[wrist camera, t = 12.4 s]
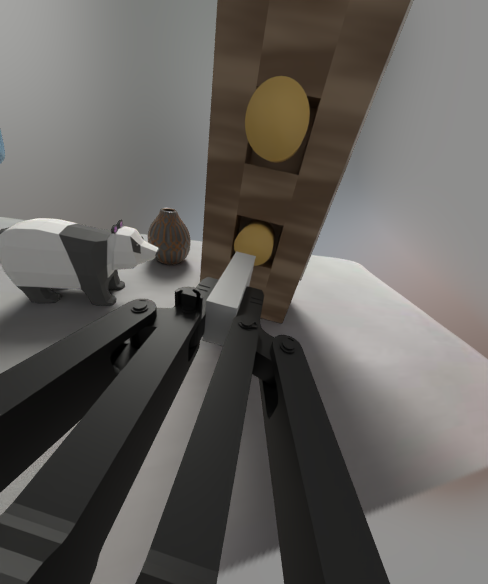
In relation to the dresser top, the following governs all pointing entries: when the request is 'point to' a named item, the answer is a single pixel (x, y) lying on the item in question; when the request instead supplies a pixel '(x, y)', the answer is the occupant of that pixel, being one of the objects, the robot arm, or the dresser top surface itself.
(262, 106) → the button mid
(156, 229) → the vase
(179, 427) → the dresser top surface
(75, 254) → the giant panda
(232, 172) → the button column
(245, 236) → the button low
